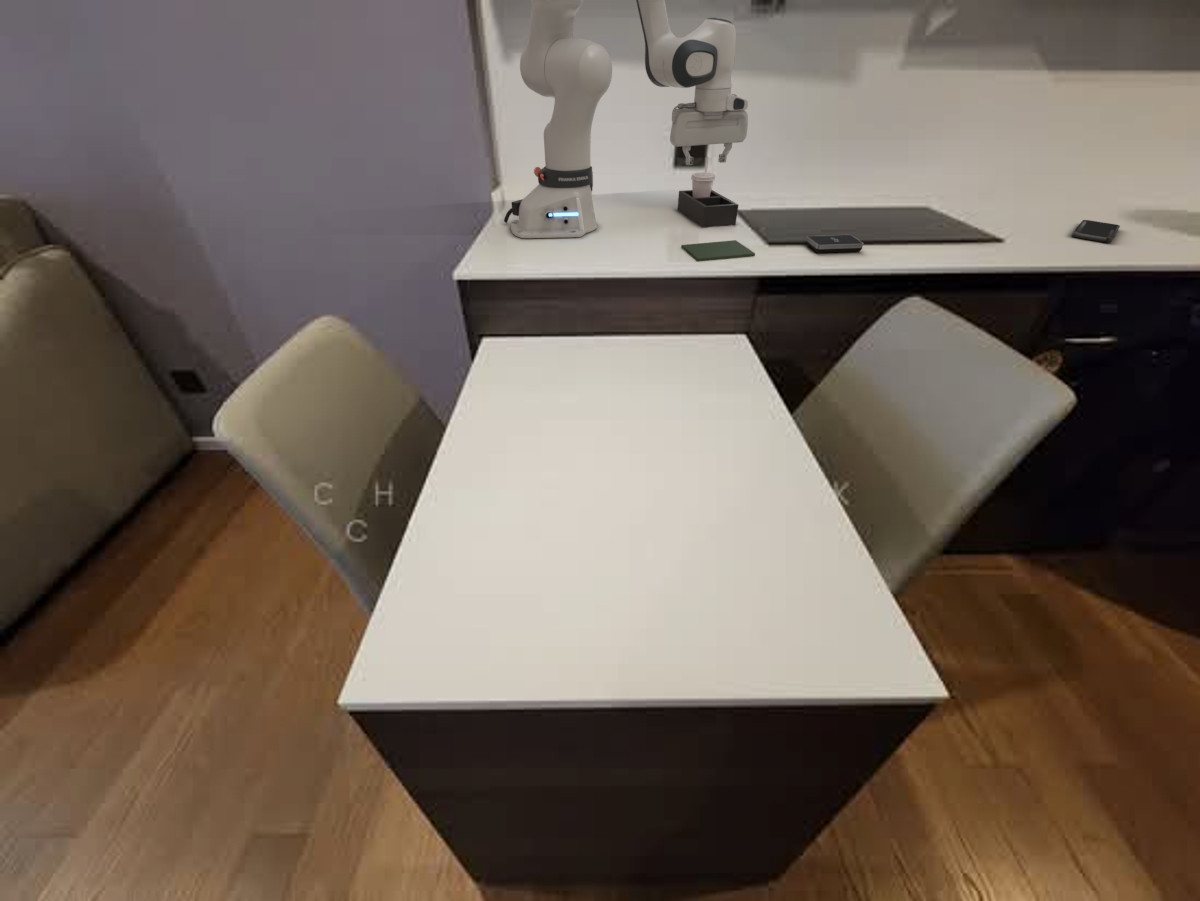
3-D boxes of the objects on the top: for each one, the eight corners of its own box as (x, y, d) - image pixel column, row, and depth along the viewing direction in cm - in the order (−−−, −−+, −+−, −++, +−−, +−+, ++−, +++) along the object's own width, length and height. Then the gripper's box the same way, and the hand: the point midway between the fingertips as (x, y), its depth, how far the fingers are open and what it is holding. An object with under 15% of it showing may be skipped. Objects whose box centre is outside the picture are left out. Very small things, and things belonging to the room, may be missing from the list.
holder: (735, 224, 139) (738, 204, 136) (702, 227, 137) (704, 207, 134) (708, 207, 153) (710, 188, 150) (677, 209, 151) (678, 190, 148)
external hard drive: (861, 252, 121) (864, 243, 120) (815, 254, 121) (817, 245, 119) (848, 243, 127) (850, 234, 126) (803, 244, 126) (805, 236, 125)
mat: (697, 261, 117) (697, 258, 117) (681, 247, 125) (681, 244, 124) (754, 255, 120) (755, 253, 119) (735, 242, 127) (735, 240, 127)
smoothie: (712, 216, 146) (719, 159, 137) (689, 216, 146) (694, 159, 137) (709, 209, 151) (715, 154, 142) (686, 209, 151) (691, 154, 142)
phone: (1073, 232, 129) (1083, 219, 137) (1070, 236, 130) (1081, 223, 138) (1113, 238, 125) (1121, 225, 133) (1110, 243, 125) (1118, 229, 134)
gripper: (677, 105, 128) (673, 168, 136) (754, 101, 131) (745, 163, 140) (668, 102, 132) (664, 163, 141) (742, 98, 136) (735, 158, 145)
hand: (705, 163), depth 141 cm, fingers open, 8 cm apart
